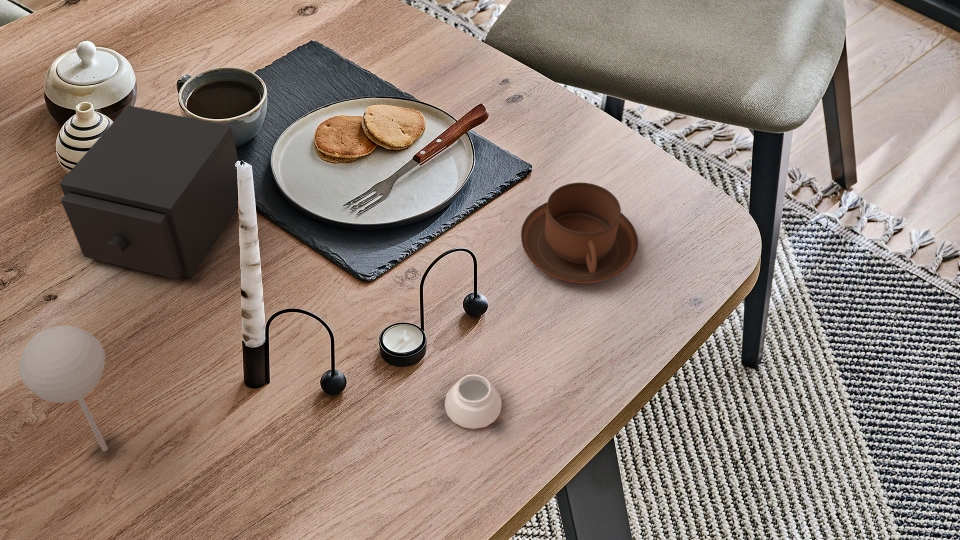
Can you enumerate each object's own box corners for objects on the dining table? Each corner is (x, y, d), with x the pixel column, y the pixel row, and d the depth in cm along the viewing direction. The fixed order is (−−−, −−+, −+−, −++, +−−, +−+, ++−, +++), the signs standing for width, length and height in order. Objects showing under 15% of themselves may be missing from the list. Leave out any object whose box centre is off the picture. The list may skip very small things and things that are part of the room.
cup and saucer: (658, 269, 97) (668, 227, 92) (557, 308, 93) (562, 266, 88) (595, 197, 104) (602, 154, 99) (499, 230, 100) (502, 187, 95)
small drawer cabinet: (191, 278, 94) (170, 208, 87) (87, 253, 96) (59, 183, 89) (246, 196, 102) (231, 126, 95) (149, 174, 104) (128, 105, 97)
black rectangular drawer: (172, 288, 92) (154, 231, 86) (77, 265, 94) (53, 208, 88) (230, 202, 100) (217, 146, 95) (142, 183, 102) (123, 126, 96)
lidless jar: (463, 376, 87) (434, 414, 84) (464, 356, 85) (434, 395, 82) (511, 400, 85) (482, 440, 82) (512, 380, 83) (483, 421, 80)
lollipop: (150, 421, 83) (104, 311, 72) (131, 480, 79) (80, 373, 68) (79, 418, 83) (23, 307, 72) (57, 478, 79) (-6, 370, 68)
